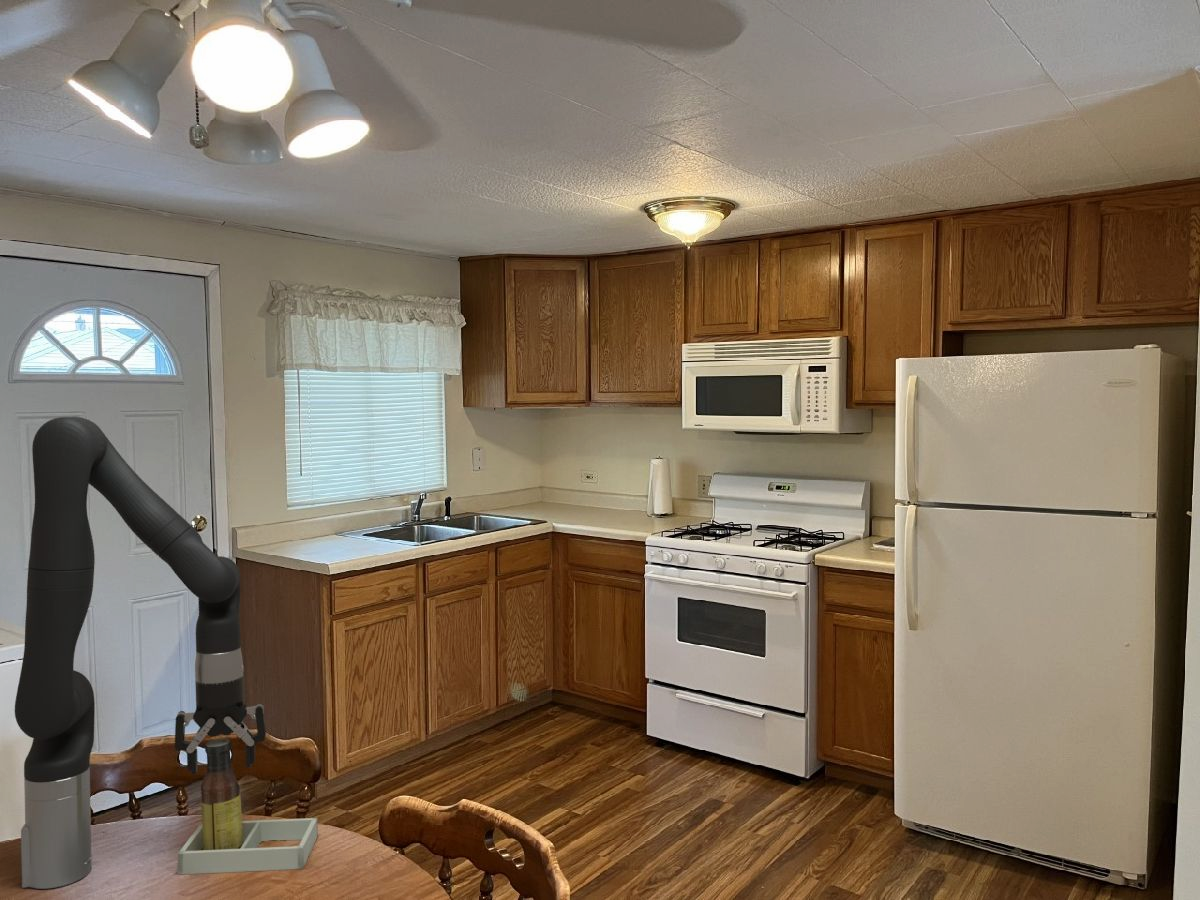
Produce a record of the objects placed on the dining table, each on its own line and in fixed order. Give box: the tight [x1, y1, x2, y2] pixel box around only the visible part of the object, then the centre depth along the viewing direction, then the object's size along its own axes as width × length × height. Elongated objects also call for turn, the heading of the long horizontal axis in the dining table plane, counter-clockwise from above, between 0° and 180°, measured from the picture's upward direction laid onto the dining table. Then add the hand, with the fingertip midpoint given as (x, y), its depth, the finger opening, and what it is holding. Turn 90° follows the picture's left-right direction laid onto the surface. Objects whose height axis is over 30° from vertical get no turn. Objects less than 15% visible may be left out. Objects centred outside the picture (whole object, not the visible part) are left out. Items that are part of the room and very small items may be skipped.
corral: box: [177, 817, 319, 876], centre depth 156 cm, size 20×12×4 cm, turn 96°
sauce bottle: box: [200, 738, 244, 850], centre depth 155 cm, size 7×6×20 cm
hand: (222, 769), depth 155 cm, fingers open, 8 cm apart
